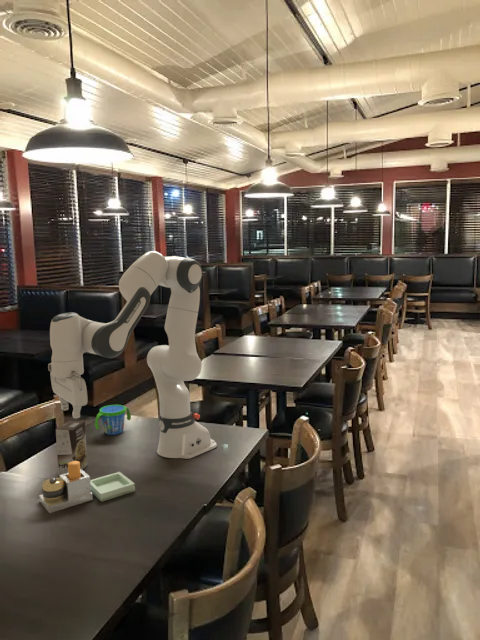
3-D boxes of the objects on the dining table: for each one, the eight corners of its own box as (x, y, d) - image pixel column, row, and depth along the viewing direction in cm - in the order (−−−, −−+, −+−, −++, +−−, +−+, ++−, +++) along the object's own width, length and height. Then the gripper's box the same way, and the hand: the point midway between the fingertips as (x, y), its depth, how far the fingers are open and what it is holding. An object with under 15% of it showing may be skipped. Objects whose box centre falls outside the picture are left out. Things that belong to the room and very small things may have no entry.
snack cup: (101, 440, 209) (100, 415, 207) (90, 433, 217) (88, 409, 215) (137, 431, 218) (136, 407, 217) (125, 424, 227) (124, 401, 225)
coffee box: (75, 476, 177) (72, 430, 175) (57, 475, 179) (54, 428, 176) (88, 465, 186) (85, 420, 184) (71, 463, 187) (68, 419, 185)
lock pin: (79, 487, 165) (77, 460, 164) (83, 491, 162) (81, 463, 161) (67, 490, 163) (66, 463, 161) (72, 495, 160) (70, 466, 159)
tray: (119, 478, 175) (119, 471, 175) (134, 491, 166) (134, 483, 166) (87, 488, 169) (87, 481, 168) (101, 501, 160) (101, 494, 159)
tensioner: (81, 488, 168) (80, 464, 167) (92, 499, 161) (91, 474, 160) (39, 501, 161) (37, 476, 159) (48, 513, 153) (46, 487, 152)
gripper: (91, 373, 150) (94, 420, 152) (66, 360, 167) (69, 403, 169) (69, 377, 147) (72, 425, 149) (46, 363, 163) (48, 407, 165)
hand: (70, 413), depth 159 cm, fingers open, 8 cm apart
